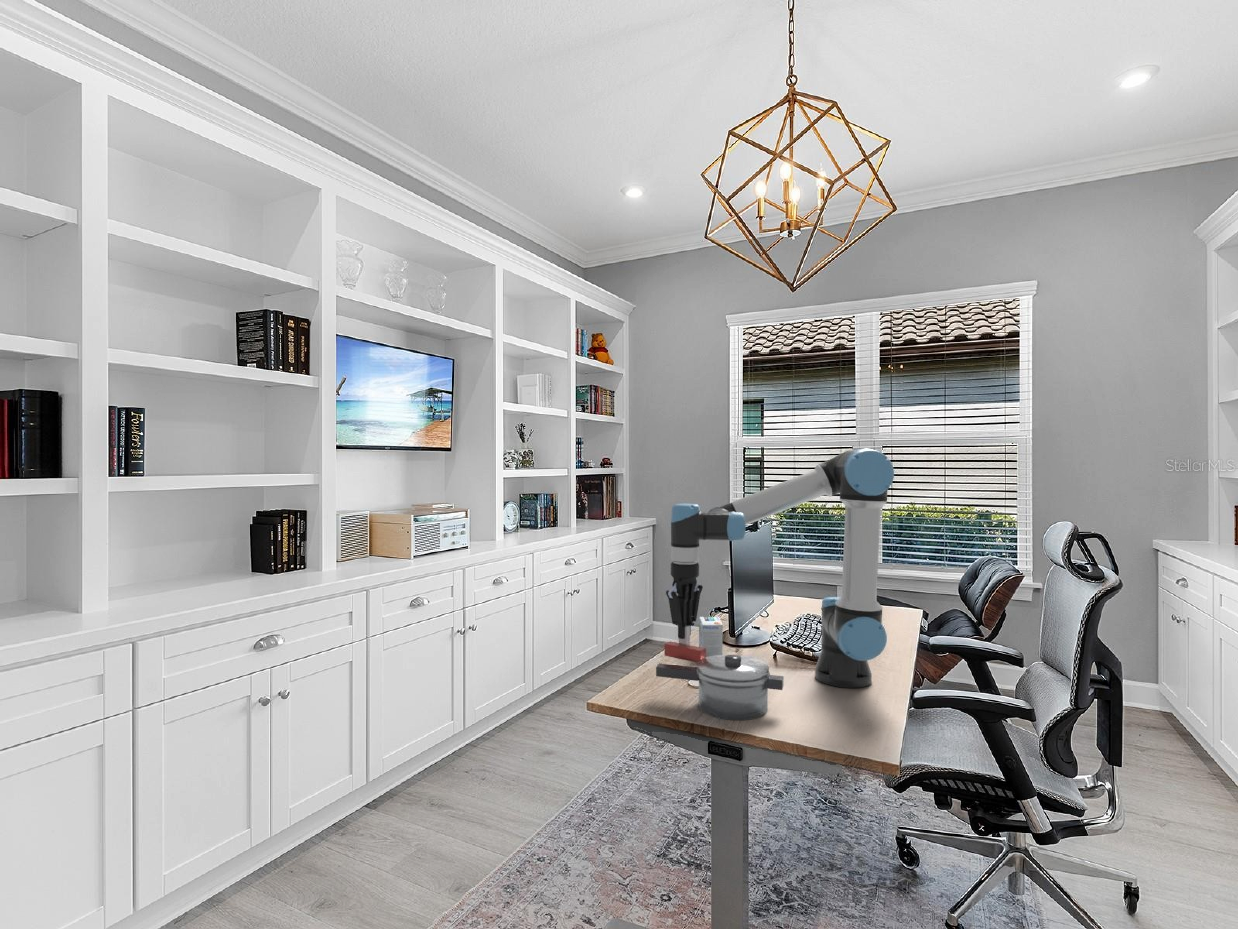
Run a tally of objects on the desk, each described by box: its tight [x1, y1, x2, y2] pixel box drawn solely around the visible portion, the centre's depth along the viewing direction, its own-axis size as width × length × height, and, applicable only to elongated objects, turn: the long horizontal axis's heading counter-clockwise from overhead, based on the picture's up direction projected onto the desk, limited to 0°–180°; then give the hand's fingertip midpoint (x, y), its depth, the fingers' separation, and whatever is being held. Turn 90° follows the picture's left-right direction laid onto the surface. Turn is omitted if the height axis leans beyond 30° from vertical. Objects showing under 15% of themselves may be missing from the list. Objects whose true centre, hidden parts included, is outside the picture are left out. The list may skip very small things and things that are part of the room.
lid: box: [664, 640, 770, 682], centre depth 171 cm, size 28×18×4 cm, turn 53°
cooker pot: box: [655, 663, 785, 721], centre depth 169 cm, size 32×18×9 cm, turn 71°
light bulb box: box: [698, 616, 724, 657], centre depth 213 cm, size 11×7×11 cm, turn 178°
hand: (684, 649), depth 179 cm, fingers closed
